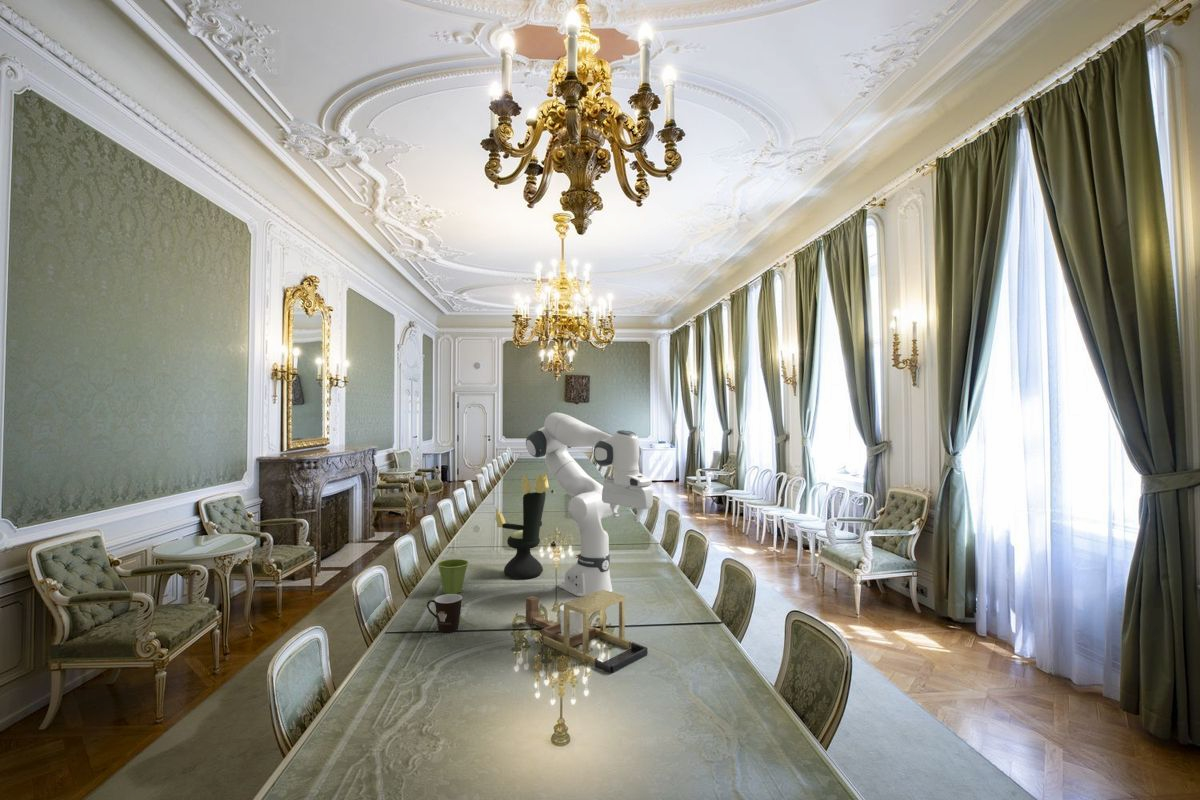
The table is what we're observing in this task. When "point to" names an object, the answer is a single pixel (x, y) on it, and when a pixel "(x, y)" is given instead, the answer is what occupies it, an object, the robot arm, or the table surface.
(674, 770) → the table surface
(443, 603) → the coffee mug
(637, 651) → the tunnel
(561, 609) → the white cup
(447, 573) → the plant pot
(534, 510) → the candelabra
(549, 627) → the wooden frame with handle
